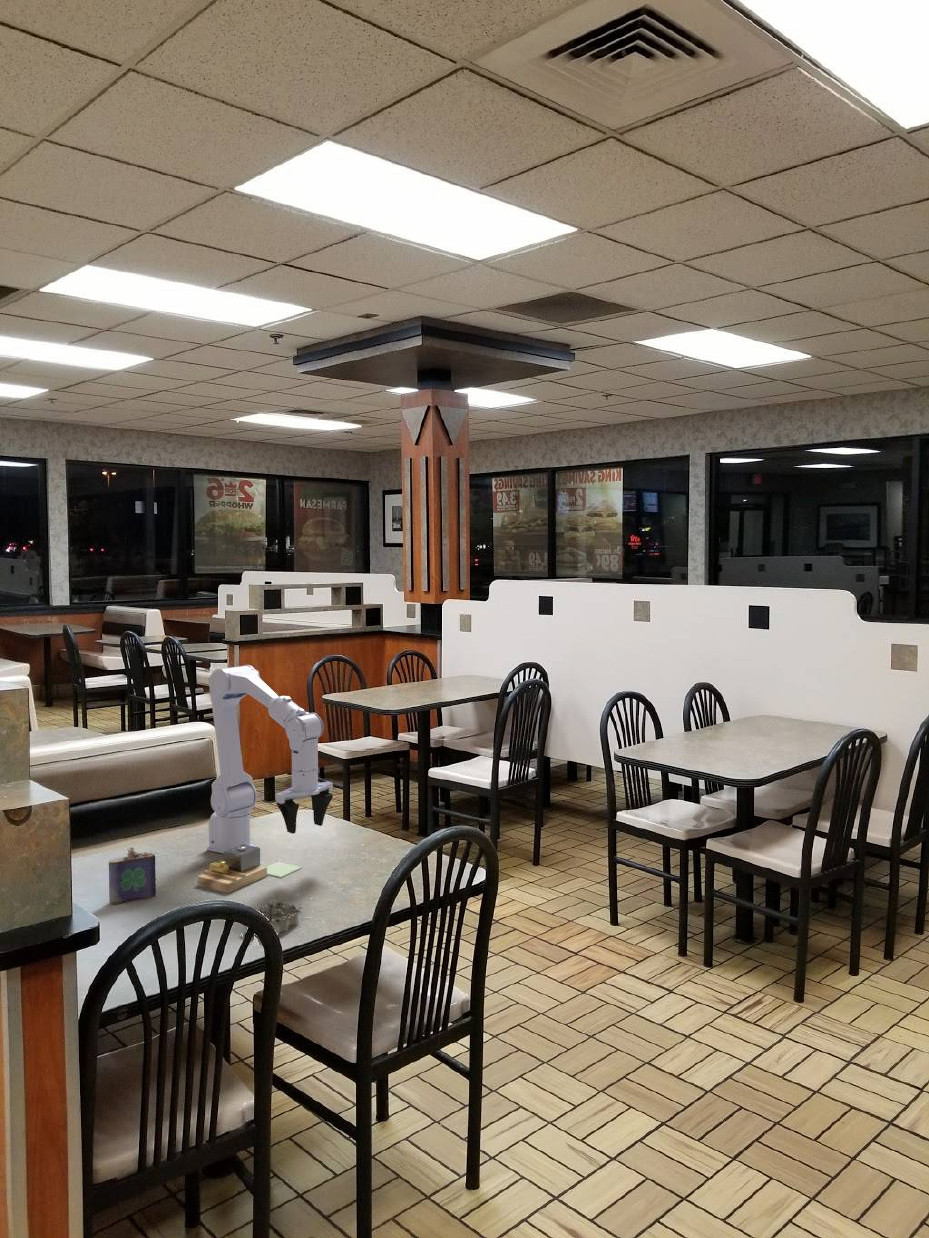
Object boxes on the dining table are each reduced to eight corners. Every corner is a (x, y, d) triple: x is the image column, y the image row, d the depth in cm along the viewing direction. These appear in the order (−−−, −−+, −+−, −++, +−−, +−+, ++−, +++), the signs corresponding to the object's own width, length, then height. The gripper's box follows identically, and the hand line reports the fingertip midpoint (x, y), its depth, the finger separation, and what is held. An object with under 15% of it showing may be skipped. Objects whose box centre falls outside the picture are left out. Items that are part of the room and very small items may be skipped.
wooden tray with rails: (197, 885, 202) (197, 873, 202) (236, 868, 213) (236, 857, 213) (228, 893, 198) (228, 881, 198) (267, 875, 208) (267, 864, 208)
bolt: (209, 873, 204) (209, 860, 204) (215, 870, 206) (214, 858, 205) (223, 876, 202) (223, 863, 202) (228, 874, 204) (228, 861, 203)
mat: (256, 872, 211) (256, 870, 211) (277, 863, 217) (277, 861, 217) (280, 877, 207) (280, 876, 207) (301, 868, 213) (301, 867, 213)
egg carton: (271, 943, 175) (271, 921, 174) (239, 935, 178) (238, 914, 178) (305, 921, 184) (305, 901, 184) (274, 914, 188) (274, 894, 187)
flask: (110, 905, 191) (109, 854, 190) (107, 901, 193) (106, 850, 192) (157, 897, 196) (156, 847, 195) (154, 893, 198) (153, 843, 197)
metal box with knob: (224, 869, 207) (223, 849, 206) (243, 861, 212) (242, 841, 211) (241, 873, 204) (241, 853, 204) (260, 865, 209) (260, 845, 209)
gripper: (289, 777, 201) (290, 839, 202) (341, 766, 212) (341, 825, 213) (269, 772, 206) (270, 832, 207) (321, 760, 217) (321, 818, 218)
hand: (305, 828), depth 210 cm, fingers open, 7 cm apart
